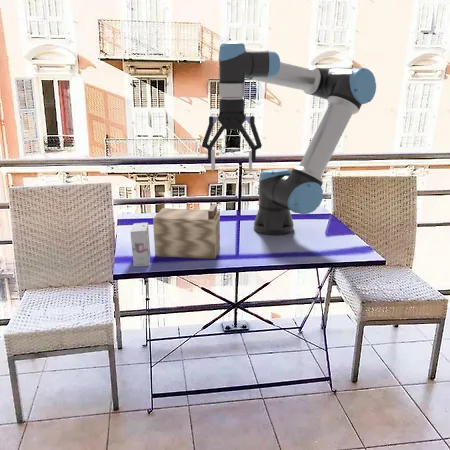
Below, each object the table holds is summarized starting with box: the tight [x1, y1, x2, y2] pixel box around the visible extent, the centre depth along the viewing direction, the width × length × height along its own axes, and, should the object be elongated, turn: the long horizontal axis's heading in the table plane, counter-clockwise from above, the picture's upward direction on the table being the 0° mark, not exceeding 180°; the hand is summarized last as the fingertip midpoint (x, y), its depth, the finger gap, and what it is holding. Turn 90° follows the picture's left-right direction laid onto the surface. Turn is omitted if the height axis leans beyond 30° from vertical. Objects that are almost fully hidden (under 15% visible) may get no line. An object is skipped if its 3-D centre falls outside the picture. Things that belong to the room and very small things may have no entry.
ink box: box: [130, 222, 152, 267], centre depth 146 cm, size 9×5×12 cm, turn 5°
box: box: [152, 207, 221, 260], centre depth 153 cm, size 20×11×13 cm, turn 83°
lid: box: [154, 203, 219, 220], centre depth 151 cm, size 20×10×4 cm, turn 83°
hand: (231, 170), depth 145 cm, fingers open, 11 cm apart
